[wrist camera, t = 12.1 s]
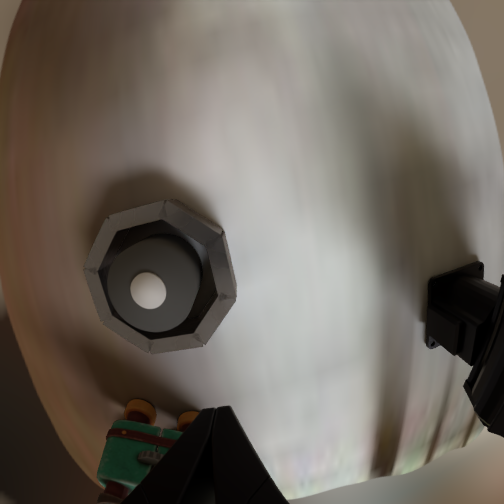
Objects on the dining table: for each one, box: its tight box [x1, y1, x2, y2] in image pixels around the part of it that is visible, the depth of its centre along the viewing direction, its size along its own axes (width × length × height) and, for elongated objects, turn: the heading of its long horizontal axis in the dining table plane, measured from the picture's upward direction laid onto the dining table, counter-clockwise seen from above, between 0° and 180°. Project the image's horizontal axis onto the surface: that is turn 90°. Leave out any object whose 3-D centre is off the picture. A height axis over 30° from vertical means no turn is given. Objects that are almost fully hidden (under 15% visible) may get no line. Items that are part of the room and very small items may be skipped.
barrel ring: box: [84, 199, 237, 354], centre depth 18 cm, size 9×9×2 cm
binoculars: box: [97, 399, 199, 504], centre depth 17 cm, size 9×11×10 cm
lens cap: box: [107, 233, 203, 332], centre depth 17 cm, size 5×5×4 cm
